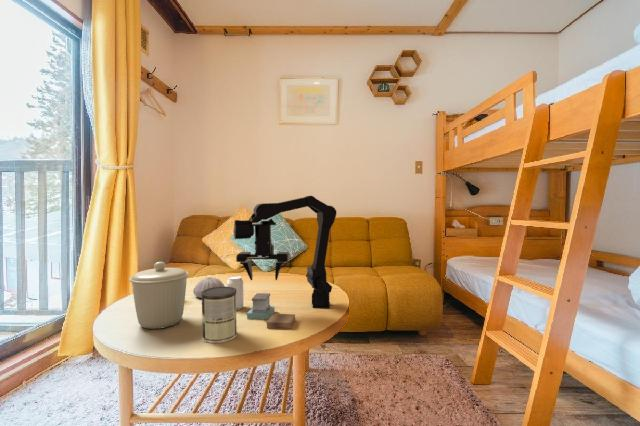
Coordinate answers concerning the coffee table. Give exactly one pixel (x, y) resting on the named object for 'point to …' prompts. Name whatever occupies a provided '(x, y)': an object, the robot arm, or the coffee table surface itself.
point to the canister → (159, 295)
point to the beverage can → (237, 289)
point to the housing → (261, 303)
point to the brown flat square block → (281, 321)
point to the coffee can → (219, 314)
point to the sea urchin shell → (206, 285)
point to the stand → (261, 314)
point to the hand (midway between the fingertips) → (263, 280)
